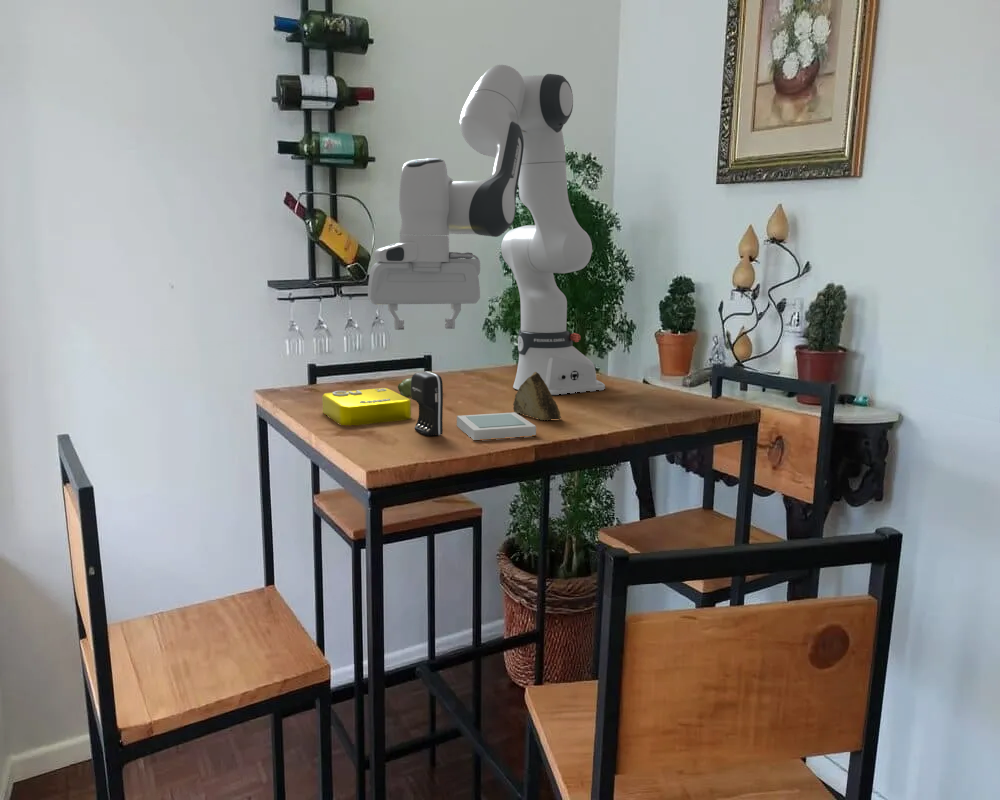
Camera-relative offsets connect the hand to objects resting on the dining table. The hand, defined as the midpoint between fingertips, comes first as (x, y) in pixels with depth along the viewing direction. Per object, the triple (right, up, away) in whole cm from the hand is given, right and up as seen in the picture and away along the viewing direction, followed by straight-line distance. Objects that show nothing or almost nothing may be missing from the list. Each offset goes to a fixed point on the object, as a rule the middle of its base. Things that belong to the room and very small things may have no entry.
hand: (424, 329), depth 142 cm
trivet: (+13, -19, +6) cm, 24 cm away
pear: (-5, -12, +40) cm, 42 cm away
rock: (+21, -17, +19) cm, 33 cm away
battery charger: (0, -19, +4) cm, 20 cm away
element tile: (-14, -17, +18) cm, 28 cm away
